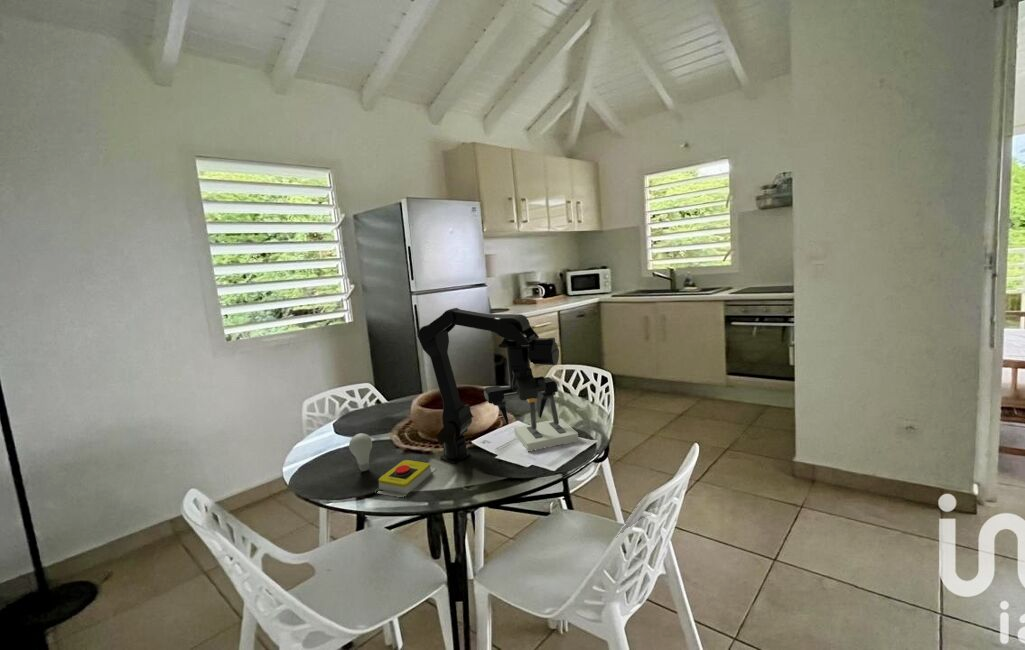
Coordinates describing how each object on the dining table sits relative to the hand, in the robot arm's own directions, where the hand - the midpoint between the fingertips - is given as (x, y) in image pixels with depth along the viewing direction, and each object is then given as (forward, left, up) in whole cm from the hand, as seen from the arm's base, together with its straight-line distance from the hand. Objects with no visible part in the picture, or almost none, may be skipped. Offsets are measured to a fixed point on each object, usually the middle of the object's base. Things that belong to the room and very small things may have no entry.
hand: (523, 420), depth 115 cm
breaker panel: (-5, +17, -13) cm, 22 cm away
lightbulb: (-38, -25, -13) cm, 48 cm away
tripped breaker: (-7, +14, -10) cm, 19 cm away
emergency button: (-23, -22, -14) cm, 35 cm away
